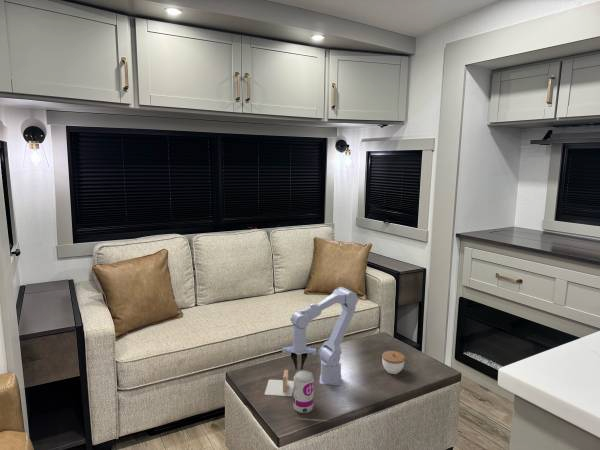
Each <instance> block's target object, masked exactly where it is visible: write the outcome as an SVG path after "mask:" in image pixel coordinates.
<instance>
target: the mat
mask: <svg viewBox="0 0 600 450" xmlns="http://www.w3.org/2000/svg"><path fill="white" fill-rule="evenodd" d="M293 394H294V380H288V387H287V392H283V379H282V380H281V379H268V381H267V385H266V388H265V391H264V395H267V396H281V397H282V396H283V397H293Z"/></svg>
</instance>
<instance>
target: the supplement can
mask: <svg viewBox="0 0 600 450" xmlns="http://www.w3.org/2000/svg"><path fill="white" fill-rule="evenodd" d="M314 378H315V377H314V375H313V373H312V372H311V371H310V370H304V369H303V370H301V369H300V370H298V371H296V372H295V373H294V376H293V381H294V387H293V395H292V398H293V402H292V404H293V410H294V411H296V412H298V413H301V414H306V413H309V412H311V411H312V410H313V409H314V398H315V397H314V394H315V393H314V389H315V387H314V385H315V383H314V382H315V379H314Z"/></svg>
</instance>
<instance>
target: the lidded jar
mask: <svg viewBox="0 0 600 450" xmlns="http://www.w3.org/2000/svg"><path fill="white" fill-rule="evenodd" d="M381 358H382V359H381V360H382V366H383V368H384V370H385V371H386V372H387V373H388V374H391V375H398V374H399V373H400V372H401V371H402V370H403V369H404V366H405V359H406V356H405V355H404V354H403V353H401V352H399V351H394V350H387V351H383V353H382V355H381Z"/></svg>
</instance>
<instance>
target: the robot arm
mask: <svg viewBox="0 0 600 450" xmlns="http://www.w3.org/2000/svg"><path fill="white" fill-rule="evenodd" d="M358 301H359V298H358V294H357V293H356V292H354V291H352V290H350V289H347V288H345V287H344V286H339V287H337V288H336V289H334V290H333V292H332V293H331V294H330V295H328V296H327V297H325V298H324V299H322V300H321V301H320V302H318V303H314V302H313V303H310V304H309V306H307V307H305V308H304V309H301V310H300V311H295V312H294V313H293V314H292V315H291V317H290V319H289V320H290V322H291V323H292V346H283V347H282V354H286V353H290V358H291V360H292V361H293V364H294V369H295V370H297V369H298V355H299V356H300V357H301V361H300V362H301V365H300V371H301V370H304V364H305V362H306V360H307V358H308V355H311V354H312V355H313V356H316V355H318V357H319V358H320V375H319V384H321V385H330V386H341V381H342V363H341V362H340V360H341V354H342V349H341V344H342V342H343V339H344V337H345V335H346V332H347V330H348V328H349V326H350V324H351V321H352V318H354V317H353V316H354V314H355V313H356V309H357V308H356V307H357V303H358ZM336 304H339V305H340V306H341V309H342V310H341V312H340V314H339V317H338V318H337V321H336V323H335V325H334V328H333V330H332V332H331V334H330V337H329V339H328V340H326V341H324V342H323V343H322V346H320V348H319V349H318V352H317V348H314V347H308V346H307V327H308V326H309V324H310V322H311V321H313V320H314V319H315V318H318V317H319V316H321V314H322V311H324V310H326V309H327V308H330V307H331V306H333V305H336Z"/></svg>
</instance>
